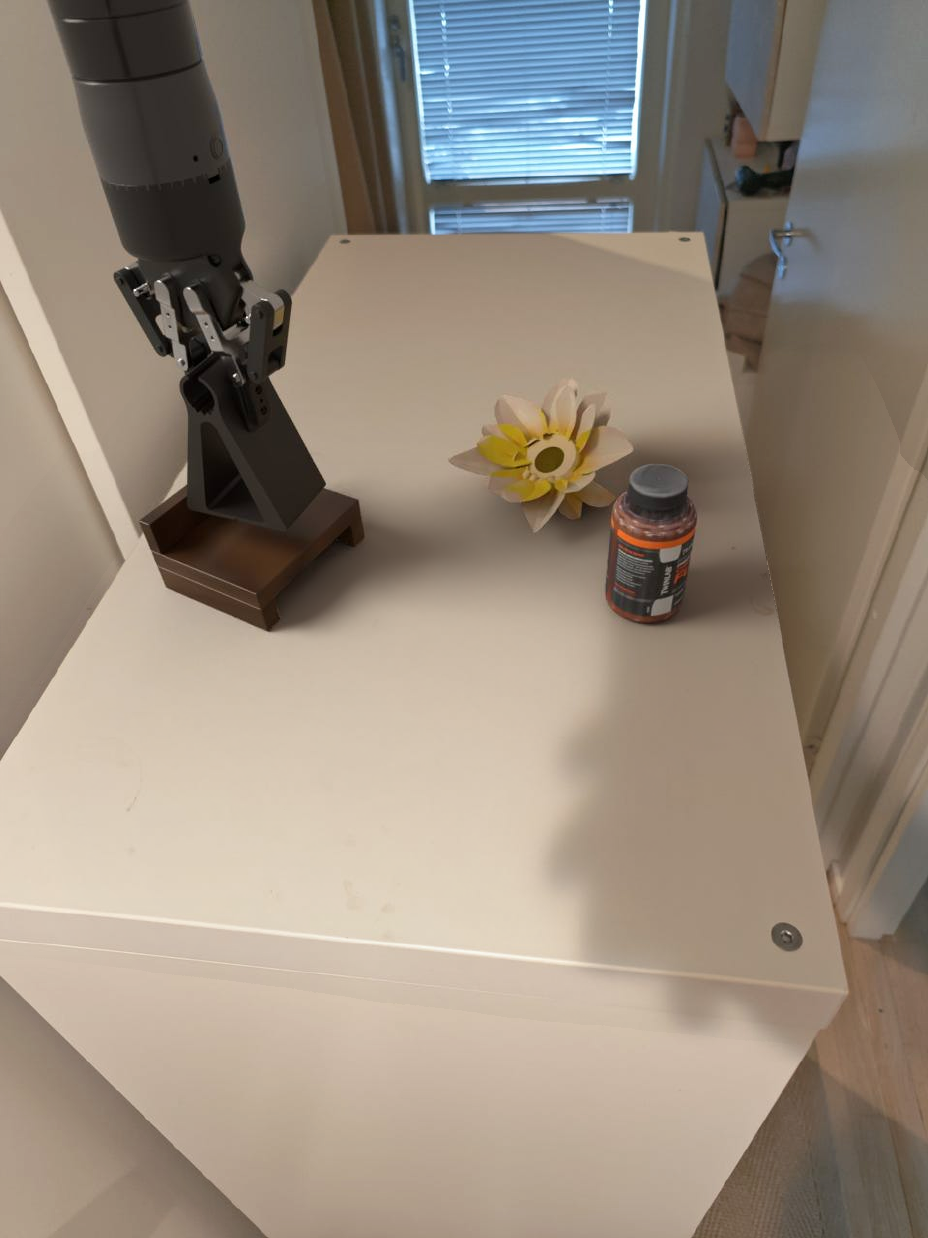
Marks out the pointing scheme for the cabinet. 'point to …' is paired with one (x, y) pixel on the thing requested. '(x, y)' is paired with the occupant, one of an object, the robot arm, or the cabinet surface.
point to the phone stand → (243, 454)
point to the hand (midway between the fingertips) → (235, 417)
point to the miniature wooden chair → (244, 552)
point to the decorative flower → (548, 452)
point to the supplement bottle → (650, 544)
